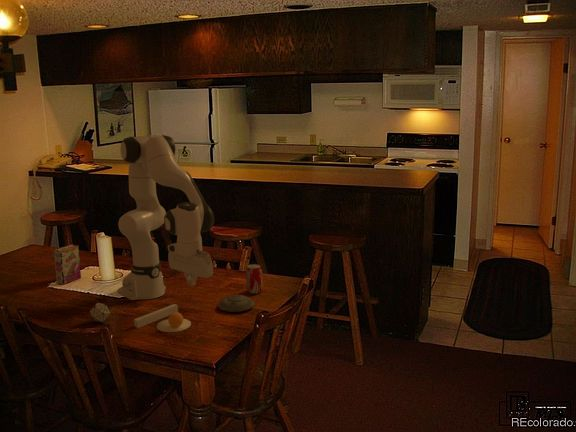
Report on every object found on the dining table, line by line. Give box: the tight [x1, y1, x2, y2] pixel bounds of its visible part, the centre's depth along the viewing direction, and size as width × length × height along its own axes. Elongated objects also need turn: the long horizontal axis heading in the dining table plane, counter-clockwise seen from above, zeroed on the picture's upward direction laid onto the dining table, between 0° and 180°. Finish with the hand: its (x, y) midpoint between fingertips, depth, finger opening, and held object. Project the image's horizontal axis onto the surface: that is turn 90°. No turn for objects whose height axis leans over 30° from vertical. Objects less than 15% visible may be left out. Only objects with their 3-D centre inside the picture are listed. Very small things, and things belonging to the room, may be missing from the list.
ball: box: [167, 311, 184, 327], centre depth 224 cm, size 6×6×6 cm
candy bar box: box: [53, 244, 82, 286], centre depth 277 cm, size 11×5×16 cm, turn 154°
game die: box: [87, 300, 114, 325], centre depth 229 cm, size 9×8×10 cm
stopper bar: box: [133, 303, 179, 329], centre depth 231 cm, size 2×20×3 cm, turn 141°
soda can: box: [245, 263, 263, 295], centre depth 259 cm, size 7×7×12 cm
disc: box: [156, 318, 192, 333], centre depth 226 cm, size 13×13×1 cm
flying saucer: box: [217, 294, 255, 313], centre depth 242 cm, size 15×15×6 cm
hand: (191, 284), depth 214 cm, fingers closed
